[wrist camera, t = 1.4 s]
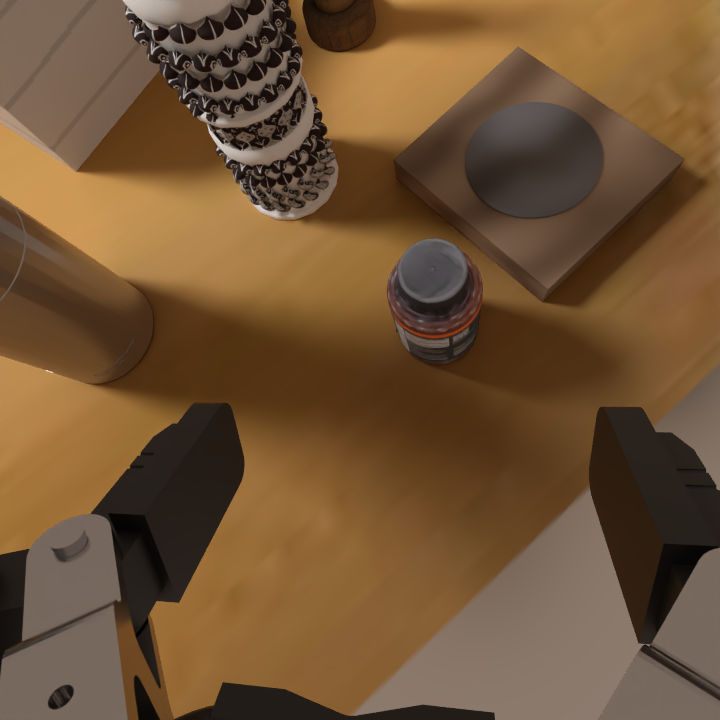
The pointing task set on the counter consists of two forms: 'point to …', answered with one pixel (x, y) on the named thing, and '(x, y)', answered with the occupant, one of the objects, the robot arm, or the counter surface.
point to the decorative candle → (245, 94)
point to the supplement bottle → (435, 301)
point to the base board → (534, 171)
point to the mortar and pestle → (339, 22)
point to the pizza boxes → (68, 72)
